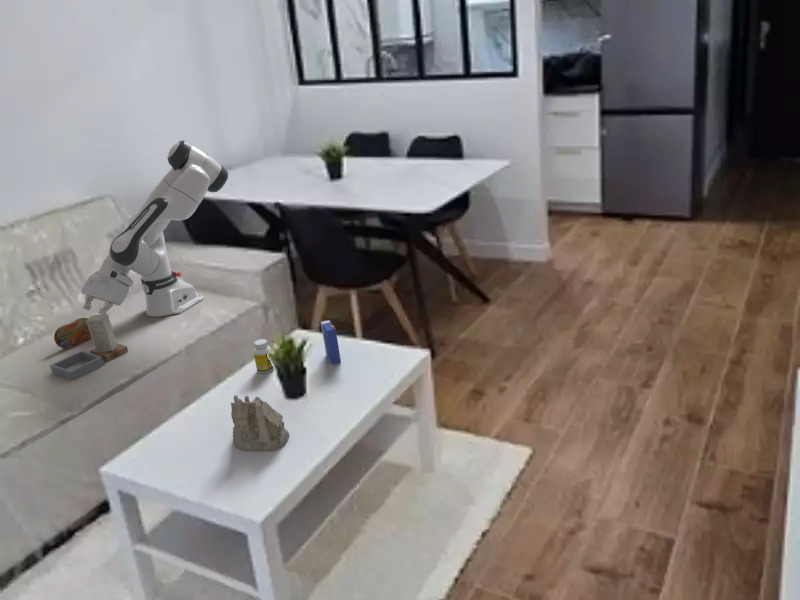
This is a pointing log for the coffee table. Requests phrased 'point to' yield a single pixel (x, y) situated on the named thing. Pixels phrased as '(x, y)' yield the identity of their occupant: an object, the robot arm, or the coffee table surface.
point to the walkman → (330, 342)
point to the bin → (71, 375)
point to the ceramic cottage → (257, 426)
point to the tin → (72, 334)
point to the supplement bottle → (262, 356)
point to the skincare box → (101, 333)
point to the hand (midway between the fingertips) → (93, 311)
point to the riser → (111, 352)
